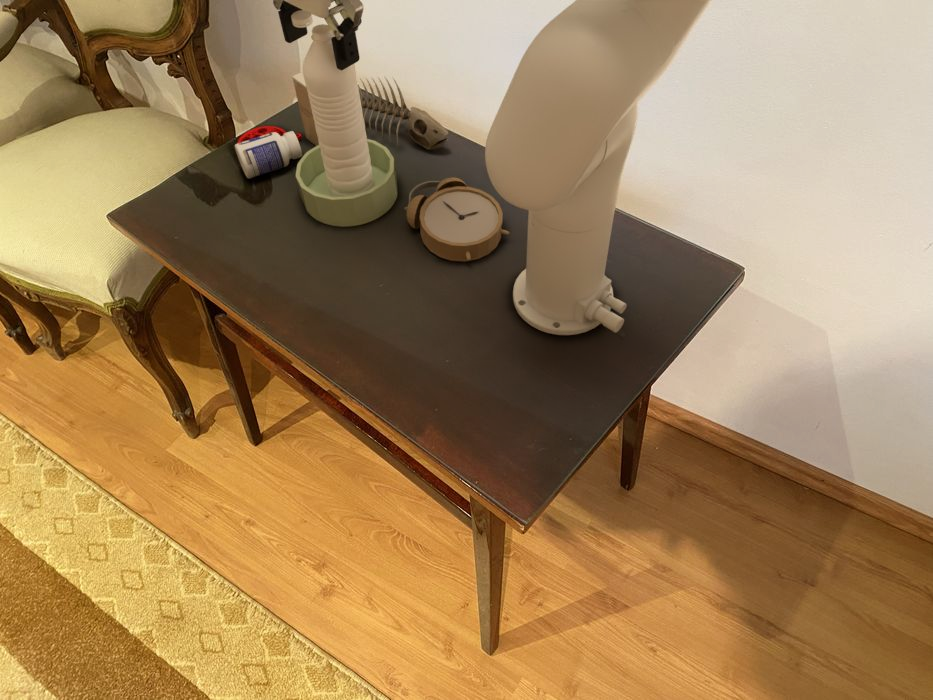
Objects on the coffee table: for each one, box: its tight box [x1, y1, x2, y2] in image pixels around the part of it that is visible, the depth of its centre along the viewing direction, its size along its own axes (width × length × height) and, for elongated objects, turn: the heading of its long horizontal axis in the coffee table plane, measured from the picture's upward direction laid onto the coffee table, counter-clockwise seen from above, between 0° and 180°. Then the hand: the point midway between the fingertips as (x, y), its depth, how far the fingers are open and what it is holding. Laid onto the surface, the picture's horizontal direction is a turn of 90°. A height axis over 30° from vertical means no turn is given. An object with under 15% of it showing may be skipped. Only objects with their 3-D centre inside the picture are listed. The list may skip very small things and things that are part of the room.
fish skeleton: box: [358, 76, 449, 150], centre depth 114 cm, size 6×28×10 cm, turn 59°
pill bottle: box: [234, 130, 303, 179], centre depth 110 cm, size 5×5×9 cm
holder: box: [295, 138, 399, 228], centre depth 106 cm, size 14×14×5 cm
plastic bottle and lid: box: [291, 10, 375, 197], centre depth 97 cm, size 9×6×25 cm
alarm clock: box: [404, 177, 510, 263], centre depth 101 cm, size 11×5×15 cm
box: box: [291, 70, 319, 147], centre depth 112 cm, size 5×4×11 cm
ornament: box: [237, 125, 303, 143], centre depth 116 cm, size 8×1×10 cm
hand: (322, 51), depth 90 cm, fingers open, 9 cm apart
